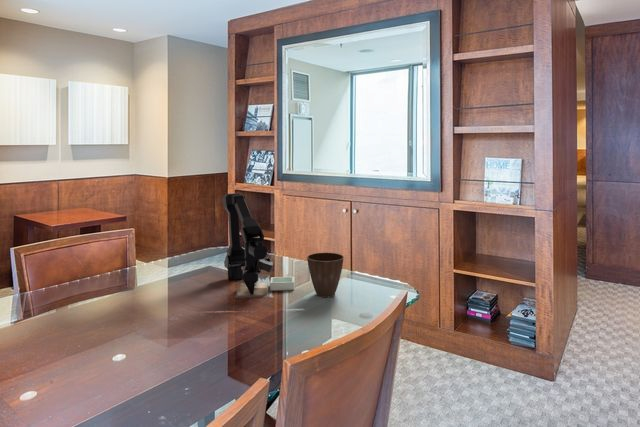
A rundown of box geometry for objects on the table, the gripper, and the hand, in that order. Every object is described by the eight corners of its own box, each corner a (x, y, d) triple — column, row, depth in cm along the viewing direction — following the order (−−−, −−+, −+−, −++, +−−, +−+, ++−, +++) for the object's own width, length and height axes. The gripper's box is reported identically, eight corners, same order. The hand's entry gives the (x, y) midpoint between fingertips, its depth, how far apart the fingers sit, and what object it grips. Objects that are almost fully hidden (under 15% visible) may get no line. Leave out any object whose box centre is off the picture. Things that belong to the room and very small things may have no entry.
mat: (234, 299, 191) (234, 297, 191) (238, 289, 203) (237, 288, 203) (269, 298, 192) (269, 296, 192) (270, 289, 204) (270, 287, 204)
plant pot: (309, 288, 204) (309, 252, 201) (344, 289, 202) (344, 252, 200) (305, 300, 189) (304, 260, 187) (342, 300, 188) (342, 261, 185)
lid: (237, 295, 194) (237, 286, 193) (239, 290, 201) (239, 281, 200) (267, 294, 194) (266, 285, 194) (268, 289, 201) (267, 280, 201)
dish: (270, 291, 200) (270, 282, 199) (271, 286, 208) (271, 277, 207) (294, 291, 200) (294, 282, 200) (294, 285, 208) (294, 276, 207)
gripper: (270, 259, 186) (271, 297, 188) (272, 248, 204) (273, 283, 207) (241, 260, 186) (243, 298, 188) (246, 249, 204) (247, 284, 206)
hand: (253, 290), depth 197 cm, fingers open, 9 cm apart
